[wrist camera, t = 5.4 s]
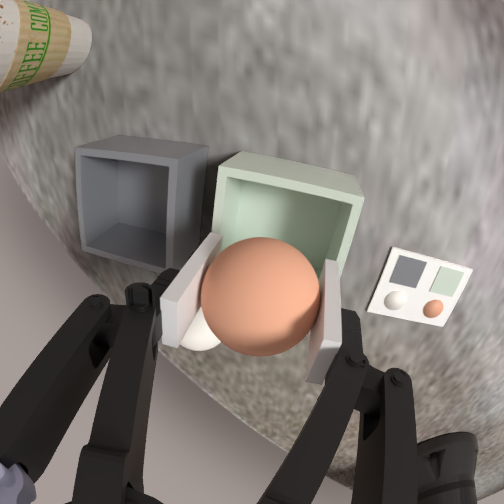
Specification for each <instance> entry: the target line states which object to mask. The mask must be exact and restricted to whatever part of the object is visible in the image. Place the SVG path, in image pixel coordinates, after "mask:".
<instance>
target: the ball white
mask: <svg viewBox="0 0 504 504" xmlns="http://www.w3.org/2000/svg"><path fill="white" fill-rule="evenodd" d="M220 342H221V341H220V340H219V339H218V338H217V337H216V336H215V335H214V334H213V333H212V331H211V330H210V328H209V326H208V324H207V322H206V320H205V318H204V315H203V312H202V307H200V309H199V310H198V312H197V314H196V316H195V318H194V319H193V321H192V323H191V325H190V327H189V328H188V330H187V332H186V334H185V336H184V337H183V339H182V341H181V343H180V345H182V346H184V347H185V348H188V349H191V350H195V351H203V350H208V349H211V348H213V347H215V346H217V345H218V344H219V343H220Z"/></svg>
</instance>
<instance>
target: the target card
mask: <svg viewBox="0 0 504 504" xmlns="http://www.w3.org/2000/svg"><path fill="white" fill-rule="evenodd" d="M472 271H473V269H472V268H468V267H465V266H461V265H458V264H454V263H451V262H447V261H444V260H440V259H437V258H433V257H429V256H426V255H422V254H418V253H415V252H411V251H407V250H403V249H400V248H396V247H392V249H391V252H390V254H389V257H388V260H387V262H386V265H385V268H384V270H383V273H382V275H381V278H380V280H379V283H378V285H377V288H376V290H375V292H374V295H373V297H372V300H371V302H370V304H369V307H368V309H367V312H372V313H377V314H382V315H386V316H391V317H396V318H401V319H406V320H411V321H416V322H421V323H426V324H431V325H437V326H442V327H443V326H444V324H445V322H446V321H447V319H448V317H449V315H450V314H451V312H452V310H453V308H454V306H455V304H456V303H457V301H458V299H459V297H460V295H461V293H462V291H463V289H464V287H465V285H466V283H467V281H468V279H469V277H470V275H471V273H472Z"/></svg>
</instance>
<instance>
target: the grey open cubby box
mask: <svg viewBox="0 0 504 504" xmlns="http://www.w3.org/2000/svg"><path fill="white" fill-rule="evenodd" d="M208 148H209V146H207V145H200V144H193V143H185V142H177V141H169V140H161V139H151V138H141V137H131V136H119V135H117V136H113V137H109V138H106V139H102V140H99V141H95V142H92V143H88V144H85V145H82V146H78V147H75V169H76V192H77V207H78V219H79V229H80V238H81V247H82V251H85V252H88V253H91V254H95V255H98V256H101V257H105V258H108V259H111V260H114V261H118V262H121V263H125V264H128V265H131V266H135V267H138V268H142V269H145V270H149V271H152V272H156V273H159V274H161V273H162V272H163V271H165V270H167V269H169V268H173V269H177V270H179V269H180V267H181V266H182V265H183V264H184V262H185V261H186V260H187V259H188V257H189V256H190V255H191V254H192V252H193V251H194V250H195V249H196V248H197V246H198V245H199V242H200V229H201V217H202V206H203V195H204V185H205V175H206V166H207V157H208Z"/></svg>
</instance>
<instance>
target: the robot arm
mask: <svg viewBox="0 0 504 504" xmlns="http://www.w3.org/2000/svg"><path fill="white" fill-rule="evenodd" d="M222 239H223V235H220V234H215V233H211V232H210V233H209V235H208V236H207V237H206V239H205V240H204V241H203V242H202V244H201V245H200V246H199V247H198V249H197V250H196V251H195V253H194V254H193V255H192V256H191V258H190V259H189V260H188V262H187V263H186V264H185V266H184V267H183V268H182V269H181V270H177V269H173V268H169V269H167V270H165V271H163V272H162V273H161V274H160V275H159V276H158V278H157V279H156V280H155V281H154V283H152V285H149V284H147V283H143V282H142V283H134V284H131V285H129V286H128V287H127V288H126V289H125V296H126V305H113V304H110V300H109V299H108V297H106V296H104V295H100V294H96V295H91V296H89V297H87V298H86V299H85V300H84V301H83V302H82V303H81V304H80V305H79V306H78V308H77V309H76V310H75V311H74V312H73V313H72V315H71V316H70V317H69V318H68V320H66V322H65V323H64V324H63V325H62V327H61V328H60V329H59V330H58V331H57V333H56V334H55V335H54V336H53V337H52V339H51V340H50V341H49V342H48V344H47V345H46V346H45V347H44V349H43V350H42V351H41V352H40V354H39V355H38V356H37V357H36V359H35V360H34V361H33V363H32V364H31V365H30V367H29V368H28V369H27V370H26V372H25V373H24V375H23V376H22V377H21V379H20V380H19V381H18V383H17V384H16V385H15V387H14V388H13V389H12V391H11V393H10V394H9V395H8V396H7V398H6V399H5V401H4V402H3V404H2V405H1V407H0V504H30V503H31V502H33V501H34V500H35V499H36V491H35V486H34V483H35V482H36V481H37V480H38V479H39V478H40V476H41V475H42V474H43V472H44V471H45V469H46V467H47V465H48V464H49V462H50V460H51V459H52V456H53V455H54V453H55V451H56V449H57V447H58V445H59V444H60V442H61V440H62V438H63V436H64V435H65V433H66V431H67V429H68V427H69V426H70V424H71V422H72V420H73V419H74V417H75V415H76V413H77V411H78V410H79V408H80V406H81V405H82V403H83V401H84V399H85V398H86V396H87V395H88V393H89V391H90V390H91V388H92V386H93V385H94V383H95V381H96V380H97V378H98V376H99V375H100V373H101V371H102V370H103V368H104V367H105V365H106V363H107V362H108V360H109V358H110V360H109V363H108V367H107V370H106V374H105V378H104V381H103V385H102V389H101V393H100V397H99V401H98V405H97V409H96V414H95V418H94V422H93V427H92V431H91V436H90V440H89V443H88V444H87V445H85V446H83V448H82V450H81V453H80V457H79V463H78V468H77V474H76V479H75V485H74V491H73V497H72V501H71V502H68V503H65V504H163V503H162V502H160V501H159V500H157V499H155V498H153V497H151V496H148V495H146V494H144V486H143V464H144V454H145V443H146V434H147V424H148V417H149V409H150V401H151V394H152V386H153V380H154V372H155V366H156V360H157V353H158V341H159V339H160V338H161V336H162V344H165V345H168V346H171V347H174V348H178V347H179V345H180V343H181V341H182V339H183V337H184V336H185V334H186V332H187V330H188V328H189V327H190V325H191V323H192V321H193V319H194V318H195V316H196V314H197V312H198V310H199V309H200V307H201V286H202V282H203V279H204V275H205V273H206V271H207V269H208V267H209V265H210V264H211V263H212V261H213V260H214V259H215V257H216V256H217V255H218V254H219V253H220V252H221V248H222ZM319 286H320V297H321V298H320V306H319V311H318V314H317V318H316V320H315V322H314V325H313V326H312V328H311V334H310V344H309V354H308V364H307V373H306V381H305V382H310V383H315V384H321V385H322V383H323V381H324V379H325V386H324V388H323V390H322V392H321V394H320V396H319V397H318V399H317V402H316V404H315V406H314V408H313V410H312V411H311V413H310V415H309V417H308V419H307V421H306V423H305V425H304V426H303V428H302V430H301V432H300V434H299V436H298V437H297V439H296V441H295V443H294V444H293V446H292V448H291V450H290V451H289V453H288V455H287V456H286V458H285V460H284V462H283V463H282V465H281V466H280V468H279V470H278V471H277V473H276V475H275V476H274V478H273V480H272V481H271V483H270V484H269V486H268V487H267V489H266V490H265V492H264V493H263V495H262V497H261V498H260V499H259V501H258V502H257V504H311V502H312V501H313V499H314V497H315V495H316V493H317V491H318V489H319V487H320V485H321V483H322V481H323V479H324V477H325V475H326V473H327V471H328V468H329V466H330V464H331V462H332V460H333V458H334V455H335V453H336V451H337V449H338V446H339V444H340V442H341V439H342V437H343V434H344V432H345V430H346V427H347V425H348V422H349V420H350V417H351V415H352V412H353V409H355V410H358V411H360V423H359V438H358V449H357V460H356V470H355V478H354V486H353V494H352V502H351V504H477V497H476V490H475V483H474V474H475V468H476V461H477V454H478V443H477V438H476V436H475V435H474V434H471V433H465V432H461V433H452V434H447V435H443V436H440V437H436V438H433V439H431V440H428V441H426V442H423V443H421V444H419V445H417V438H416V422H415V409H414V399H413V389H412V381H411V378H410V376H409V375H408V374H407V373H406V372H405V371H403V370H401V369H399V368H390V369H388V370H387V371H386V372H382V371H380V370H378V369H376V368H374V367H372V366H371V365H369V361H368V359H367V357H366V356H365V355H364V354H363V347H362V336H361V327H360V318H359V317H358V315H357V313H356V312H355V311H351V310H347V309H342V308H341V298H340V279H339V264H338V262H337V261H333V260H329V259H325V262H324V265H323V269H322V272H321V275H320V279H319Z"/></svg>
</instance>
